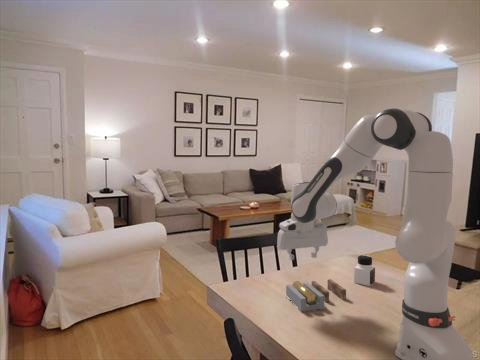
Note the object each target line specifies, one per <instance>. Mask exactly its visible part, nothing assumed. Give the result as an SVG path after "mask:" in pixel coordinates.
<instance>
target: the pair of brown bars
mask: <svg viewBox="0 0 480 360" xmlns="http://www.w3.org/2000/svg"><path fill="white" fill-rule="evenodd" d="M311 286H313V287H314V288H315V289H316V290H318V291H319V292H320V293H321V294H323V295H324V303H329V302H330V292H331V291H332V292H331V293H333V294H334V295H335V296H337V297H338V298H339V299H340V300H342V301H346V300H347V289H345V288H344V287H342V286H341V285H340V284H338V283H337V282H335V281H334V280H332V279H329V278H328V279H327V289H326V288H325V287H323V286H322V285H321V284H320V283H318V282H317V281H316V280H313V281H311Z"/></svg>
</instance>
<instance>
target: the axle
mask: <svg viewBox="0 0 480 360" xmlns="http://www.w3.org/2000/svg"><path fill="white" fill-rule="evenodd" d="M291 285H292V286H293V287H294V288H295V289H296V290H297V291H299V292H300V293H301V294H302V295H303V296H304V297H305V298H306V302H308V303H309V304H310V305H313V304H315V303H316V302H317V296H316V295H315V294H314V293H312V292H311V291H310V290H309V289H308V288H306V287H305V286H304V285H303V283H302V282H301V281H299V280H296V281H294V282H292V284H291Z"/></svg>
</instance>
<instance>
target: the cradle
mask: <svg viewBox="0 0 480 360" xmlns="http://www.w3.org/2000/svg"><path fill="white" fill-rule="evenodd" d="M302 284H303V285H304V286H305V287H306V288H308V289H309V290H310V291H311V292H312V293H314V294H315V295H316V296H317V302H316V303H315V304H313V305H310V304H309V303H308V302H306V298H305V297H304V296H303V295H302V294H301V293H300V292H299V291H297V290H296V289H295V288H294V287H293V286H292V285H293V284H286V285H285V288H286V289H285V294H286V295H287V296H288V297H289V298H290V299H291V301H292V302H293V303H294V304H295V305H296V306H297V307H298V309H299V310H300V311H305V312H309V311H308V310H313V311H318V310H317V309H320V310H325V301H324V295H323V294H321V293H320V292H319V291H318V290H316V289H315V288H314V287H313V286H312V284H310V283H309V282H303V283H302ZM291 301H290V302H291ZM292 302H291V303H292ZM293 303H292V304H293ZM294 304H293V305H294ZM295 305H294V306H295ZM298 309H297V310H298ZM299 310H298V311H299ZM300 311H299V312H300Z"/></svg>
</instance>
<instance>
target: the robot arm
mask: <svg viewBox="0 0 480 360" xmlns="http://www.w3.org/2000/svg"><path fill="white" fill-rule="evenodd" d="M432 125H433V124H432V121H431V119H429V118H428V117H427V116H426V115H424V114H423V113H421V112H418V111H417V112H416V111H412V109H411V110H410V109H406V108H405V109H404V108H387V109H385V110H381V111H379V112H378V113H377V114H376V115H374V114H365V115H363V116H362V117H361V118H360V119H359V120H358V121H357V122H356V123H355V124H354V125H353V127H352V128H351V129H350V131H348V133H347V134H346V136H345V138H344V139H343V140H342V143H340V145H339V146H338V148H337V149H336V150H335V151H334V153H333V154H332V155H331V156H330V158H329V159H327V161H326V162H325V163H324V164H323V165H322V166H321V167H320V169H318V171H317V172H316V174H315V175H314V176H313V178H312V179H311V180H310V181H304V182H297V183H295V184H294V185H292V188H291V193H290V194H291V195H290V207H291V215H290V218H289V219H285V220H284V221H281V222H279V225H278V227H279V231H277V238H276V239H277V241H276V244H277V248H278V249H280V250H282V251H284V250H286V252H287V254H288V260H289V261H295V255H294V254H292V253H291V252H292V251H293V250H295V249H307V248H313V252H311V253H310V255H311V256H310V257H311V258H313V259H316V258H317V256H318V255H317V254H318V252H320V251H319V250H320V247H326V246H327V245H328V243H329V239H328V232H327V231H328V225H327V224H326V223H325V222H321V221H319V222H315V221H316V220H322V219H325V218H330V217H331V216H333V215H334V214H335V213H336V211H337V207H338V202H337V199H336V197H335V196H334V195H333V194H332V193H331V192H328V191H329V190H330V188H331V187H332V186H333V185H334V184H335V183H336V182H339V181H340V180H341V179H344V178H346V177H349V176H352V175H355V174H358V173H360V172H361V171H363V170H364V169H365V168H367V166H368V165H369V164H370V163H371V161H372V160H373V159H374V157H375V156H376V154H377V153H378V152H379V150H380V149H381V148H382V146H385V147H388V148H393V149H396V150H397V151H398V150H399V151H402V150H404V151H405V152H406V154H407V156H408V157H407V158H408V169H407V187H406V188H407V191H406V192H407V194H406V202H405V207H404V209H403V215H402V220H401V224H400V228H399V231H398V233H397V236H396V238H395V242H394V244H395V245H394V246H395V249H396V251H397V253H398V255H399V256H400V257H401V258H402V259H403V260H405V262H408V265H407V268H406V271H405V275H404V288H403V289H404V291H403V299H402V301H401V302H402V304H401V313H402V319H401V322H400V327H399V328H400V329H399V335H398V340H397V343H396V348H395V350H394V351H395V352H394V356H396V357H397V358H399V359H401V360H474V353H473V350H472V348H471V347H470V345H469V344H468V341H467V340H466V339H465V338H463V337H462V335H461V334H460V333H459V332H458V330H457V329H456V327H454V325H453V322H454V321H456V319H455V318H456V316H455V315H453V316H451V313H450V310H449V307H448V294H449V293H448V291H449V280H450V273H451V269H452V262H453V257H454V251H455V243H456V240H457V230H456V228H455V226H454V225H453V224H452V222H451V221H449V220H447V218H448V217H447V216H448V213H449V209H450V205H451V203H452V197H453V196H452V195H453V176H454V173H453V172H454V161H453V160H454V159H453V157H454V156H453V149H452V144H451V143H452V142H451V139H450V137H449V136H447V134H446V133H443V132H440V131H436V130H435V131H433V126H432Z"/></svg>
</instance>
